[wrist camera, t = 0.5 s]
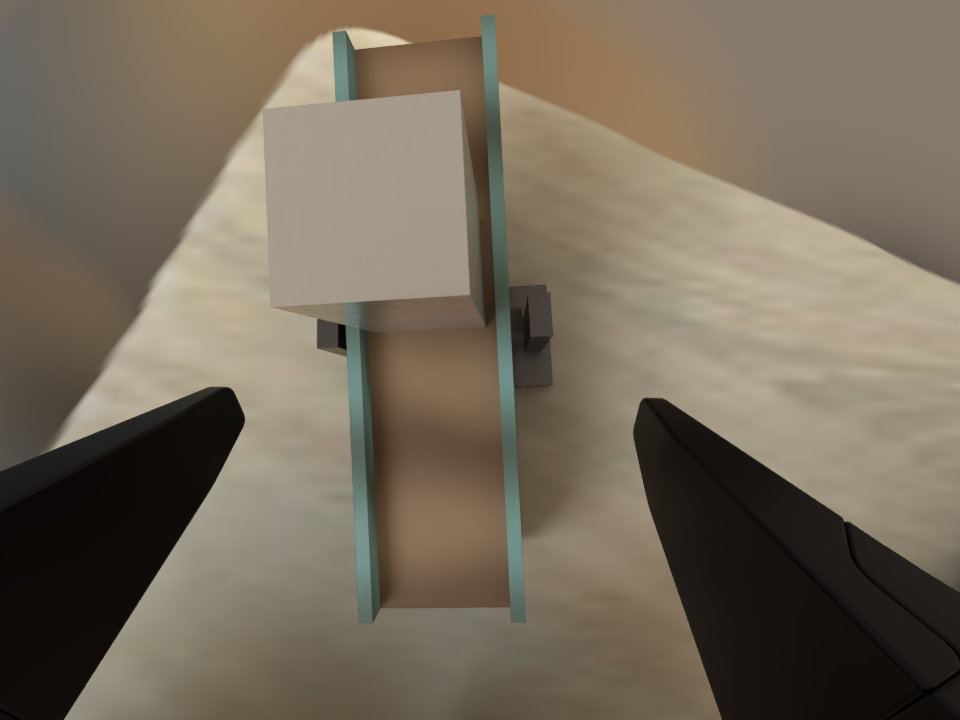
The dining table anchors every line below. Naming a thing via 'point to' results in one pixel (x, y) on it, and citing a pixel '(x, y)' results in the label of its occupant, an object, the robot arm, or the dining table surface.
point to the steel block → (375, 213)
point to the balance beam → (438, 382)
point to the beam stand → (526, 347)
